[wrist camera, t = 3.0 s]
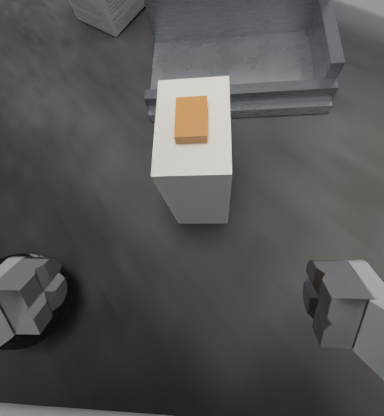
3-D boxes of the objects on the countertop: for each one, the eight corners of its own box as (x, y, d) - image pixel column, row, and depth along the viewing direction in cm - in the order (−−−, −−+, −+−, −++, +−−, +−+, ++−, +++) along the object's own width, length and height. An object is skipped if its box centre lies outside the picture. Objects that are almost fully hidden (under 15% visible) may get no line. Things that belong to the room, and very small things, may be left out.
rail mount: (151, 122, 25) (130, 70, 19) (157, 43, 28) (141, -21, 22) (327, 113, 23) (362, 54, 18) (313, 30, 26) (338, -43, 21)
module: (178, 223, 21) (147, 171, 12) (181, 158, 23) (155, 71, 14) (227, 223, 21) (232, 168, 12) (226, 157, 23) (229, 66, 14)
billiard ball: (99, 275, 21) (53, 267, 15) (63, 354, 19) (-3, 378, 14) (38, 249, 22) (-26, 234, 16) (-1, 322, 20) (-86, 332, 15)
